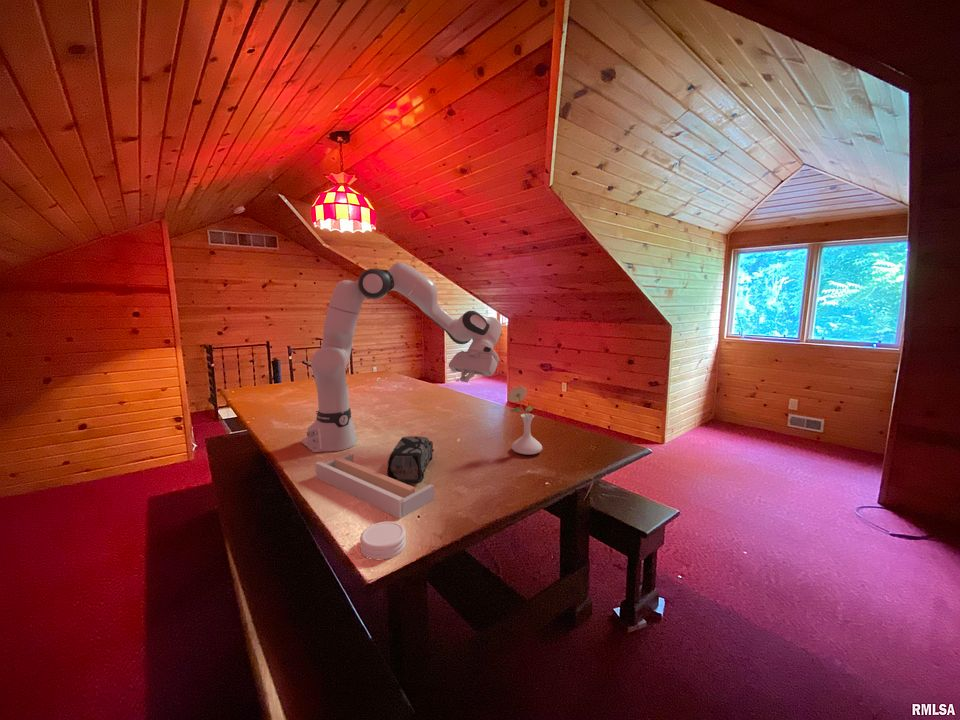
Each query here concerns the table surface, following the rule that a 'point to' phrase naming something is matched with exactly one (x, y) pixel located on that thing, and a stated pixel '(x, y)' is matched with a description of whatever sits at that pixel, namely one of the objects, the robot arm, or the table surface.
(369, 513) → the table surface
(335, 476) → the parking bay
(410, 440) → the black mottled block
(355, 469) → the tan wooden bar
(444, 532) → the table surface
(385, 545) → the coaster
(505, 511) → the table surface
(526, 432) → the flower in vase
